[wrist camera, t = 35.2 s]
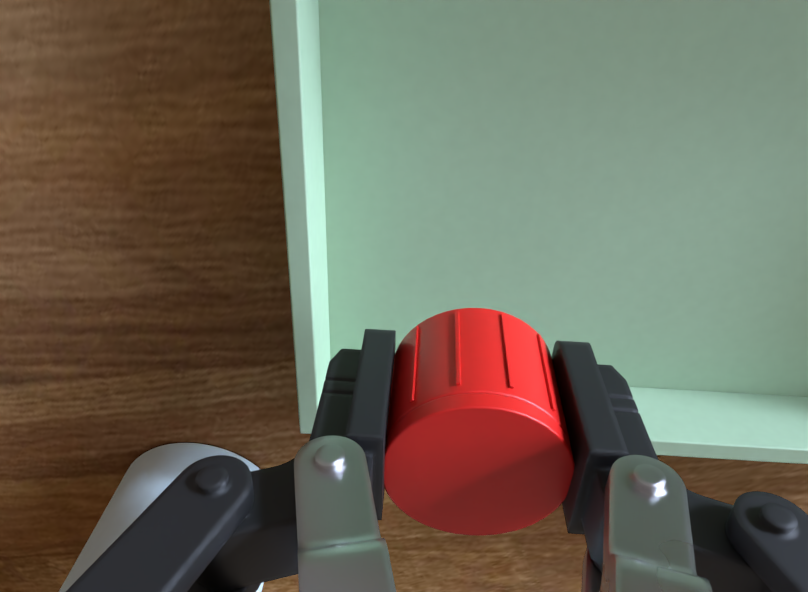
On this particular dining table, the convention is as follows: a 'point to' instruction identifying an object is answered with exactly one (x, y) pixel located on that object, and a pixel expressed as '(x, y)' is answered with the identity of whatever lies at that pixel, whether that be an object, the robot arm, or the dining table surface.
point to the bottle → (141, 496)
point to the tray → (561, 193)
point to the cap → (476, 425)
